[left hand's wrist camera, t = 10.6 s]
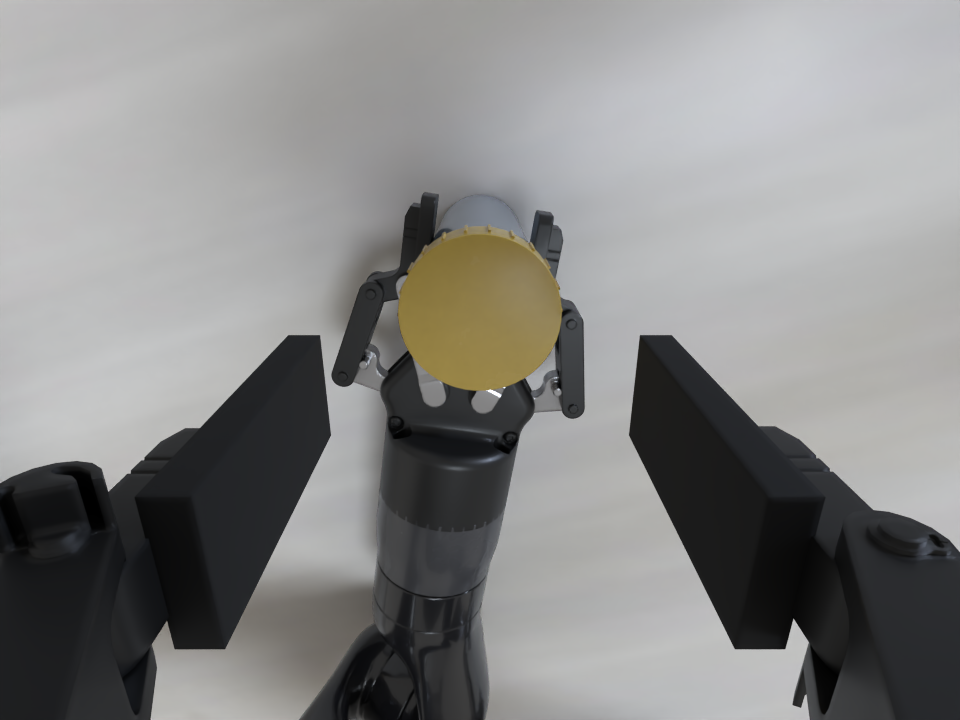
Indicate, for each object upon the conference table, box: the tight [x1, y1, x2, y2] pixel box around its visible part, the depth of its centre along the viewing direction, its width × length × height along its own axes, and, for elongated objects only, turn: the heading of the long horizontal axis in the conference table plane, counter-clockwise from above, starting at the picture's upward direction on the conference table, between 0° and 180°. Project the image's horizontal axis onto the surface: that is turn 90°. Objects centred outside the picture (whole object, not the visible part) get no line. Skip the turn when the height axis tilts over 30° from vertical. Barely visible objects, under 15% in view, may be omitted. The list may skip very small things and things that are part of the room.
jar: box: [432, 195, 527, 242], centre depth 27 cm, size 5×5×16 cm
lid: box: [398, 224, 563, 391], centre depth 20 cm, size 6×6×2 cm
